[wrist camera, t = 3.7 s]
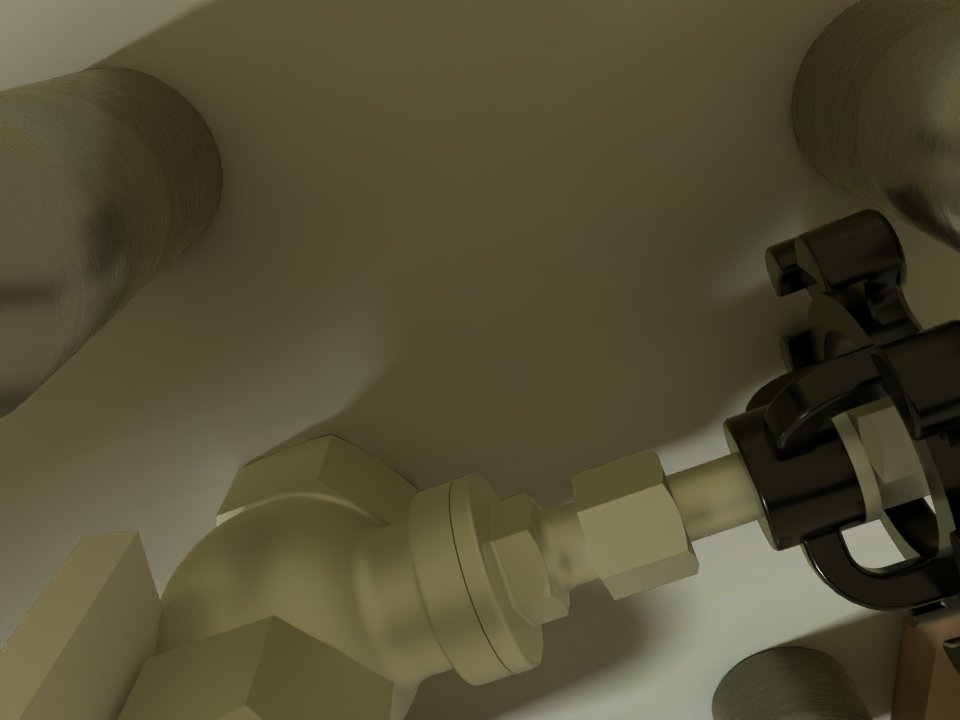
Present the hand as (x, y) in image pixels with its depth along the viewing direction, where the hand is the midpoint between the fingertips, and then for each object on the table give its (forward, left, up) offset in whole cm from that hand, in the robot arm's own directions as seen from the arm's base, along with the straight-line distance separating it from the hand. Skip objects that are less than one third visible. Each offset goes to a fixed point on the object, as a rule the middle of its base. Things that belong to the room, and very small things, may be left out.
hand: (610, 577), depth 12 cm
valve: (-1, 0, -4) cm, 4 cm away
